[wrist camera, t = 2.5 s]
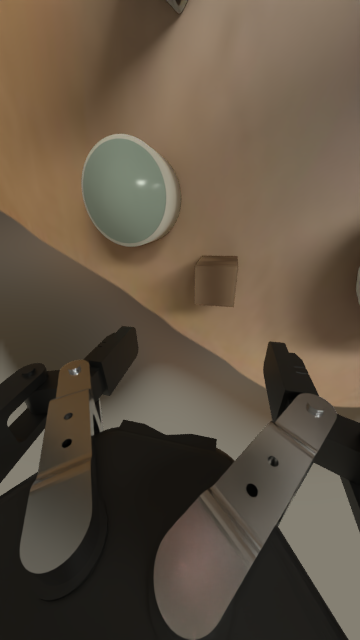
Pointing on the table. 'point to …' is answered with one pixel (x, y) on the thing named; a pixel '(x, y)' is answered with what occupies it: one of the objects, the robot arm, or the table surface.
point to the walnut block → (216, 280)
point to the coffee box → (177, 5)
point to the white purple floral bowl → (358, 286)
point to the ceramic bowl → (130, 191)
